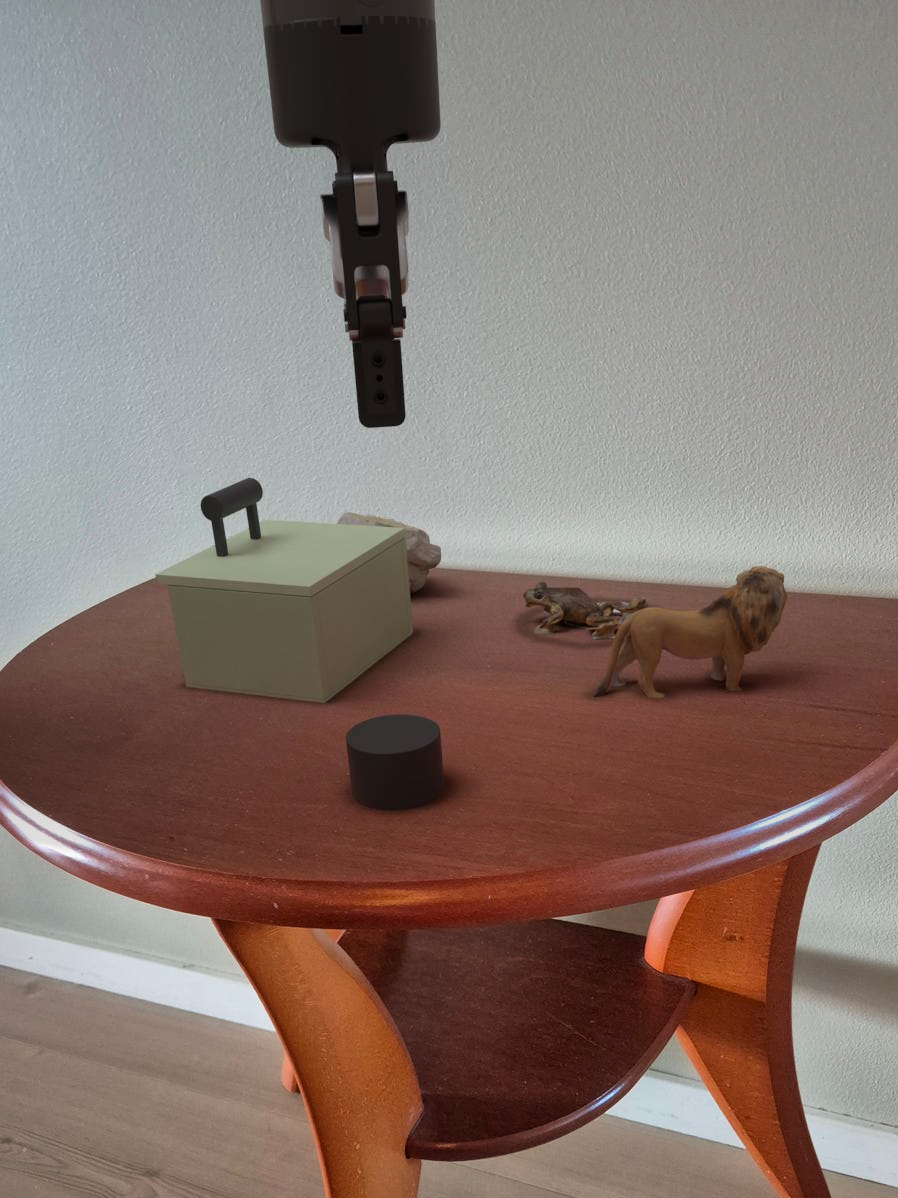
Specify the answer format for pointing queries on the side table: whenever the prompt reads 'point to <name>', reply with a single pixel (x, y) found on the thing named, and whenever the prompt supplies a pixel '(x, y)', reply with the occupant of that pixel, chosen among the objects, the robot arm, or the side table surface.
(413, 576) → the fossil replica
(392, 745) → the dark solid cylinder
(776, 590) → the lion figurine
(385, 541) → the lid
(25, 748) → the side table surface
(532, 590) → the frog figurine
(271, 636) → the chest
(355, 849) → the side table surface
